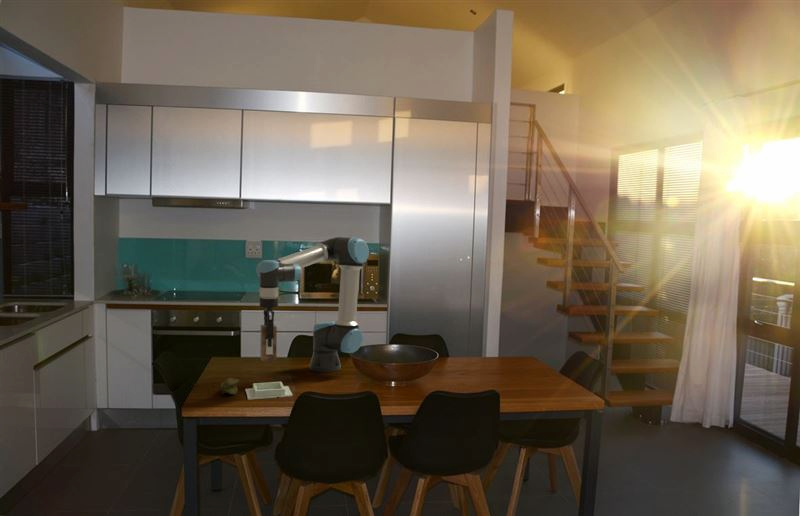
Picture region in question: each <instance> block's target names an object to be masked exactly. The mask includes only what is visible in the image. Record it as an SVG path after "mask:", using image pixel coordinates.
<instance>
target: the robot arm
mask: <svg viewBox="0 0 800 516" xmlns="http://www.w3.org/2000/svg"><path fill="white" fill-rule="evenodd" d="M369 250H370V249H369V246H368V244H367V243H366V241H365V240H364V239H362V238H358V237H345V236H343V237H342V236H337V237H332V238H329V239H326V240H322V241H320V242H317V243H316V244H315V245H314V246H312V247H309V248H306V249H303V250H300V251H298V252H295V253H292V254H289V255H286V256H282V257H280V258H277V259H274V260H273V259H268V260H267V259H265V260H261V261H260V262H259V263H258V264H257V265H256V267H255V273H256V275H257V276H258V278H259V289H258V290H257V291H258V292H259V297H260V298H259V307H260V308H263V309H264V310H263V322H264V323H263V325H266V332H267V337H266V338H265V339H266V355H268V354H273V338H274V336H273V325H274V321H275V312H274V310H273V308H277V307H279V298H278V297H279V283H286V282H287V283H289V282H290V283H291V282H296V281H299V280H300V279H301V278H302V275H303V270H302V269H303V268H305V267H309V266H311V265H313V264H317V263H319V262H320V263H325V262H334V261H335V262H337V263H338V267H339V268H340V281H339V282H340V283H339V296H338V297H339V298H338V312H337V313H338V315H337V319H336V321H335V320H332V321H321V322H316V323H315V324H314V325H313V330H312V333H313V334H312V335H313V337H312V339H313V340H312V341H313V343H312V345H313V346H312V348H313V349H312V350H313V351H312V352H313V353H312V357H311V359H310V363H309V370H310V371H312V372H316V373H317V372H318V373H330V372H337V371H340V370H341V367H342V365H341V364H342V363H341V361H340V358H339V354H338V352H343V353H345V354H346V353H347V354H353V353H356V352H357V351H359V349H360V348H361V347H362V344H363V341H364V335H363V332H362V330H360V329H359V328H360V324H359V323H358V321H357V311H358V310H357V309H358V297H359V282H360V281H359V280H360V270H362V268H364V263H366V262H367V260H368V259H369V255H370V251H369Z"/></svg>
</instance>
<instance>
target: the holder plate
mask: <svg viewBox="0 0 800 516" xmlns="http://www.w3.org/2000/svg"><path fill="white" fill-rule="evenodd" d="M245 393H246V397H247V401H248V400H249V401H251V400H262V399H263V400H264V399H276V398H277V397H279V398H287V397H289V398H292V397H294V396H293V393H292V391H291V390H290V387H289V385H284V384H283V382H282V381H269V382H258V383H257V382H255V383H252V388H245ZM277 399H278V398H277Z"/></svg>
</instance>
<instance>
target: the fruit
mask: <svg viewBox="0 0 800 516" xmlns="http://www.w3.org/2000/svg"><path fill="white" fill-rule="evenodd" d="M240 381H241V380H240V379H238V378H233V377H227V378H226V380H225V381H224V382H222V383H220V386H219V387H220V388H221V389H220V393H221V394H222V395H224V394H230V395H237V394H238V392H239V390H238V389H239V388H238V385H239V383H240Z"/></svg>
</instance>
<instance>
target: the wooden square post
mask: <svg viewBox="0 0 800 516" xmlns="http://www.w3.org/2000/svg"><path fill="white" fill-rule="evenodd" d="M277 327H278V326H277V325H276V324H273V336H274V338H273V354H268V355H266V339H265V338H266V337H267V332H266V325H264V324H261V325H260V359H261V362H262V361H263V362H265V361H268V362H269V361H277V333H278V331H277Z"/></svg>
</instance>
